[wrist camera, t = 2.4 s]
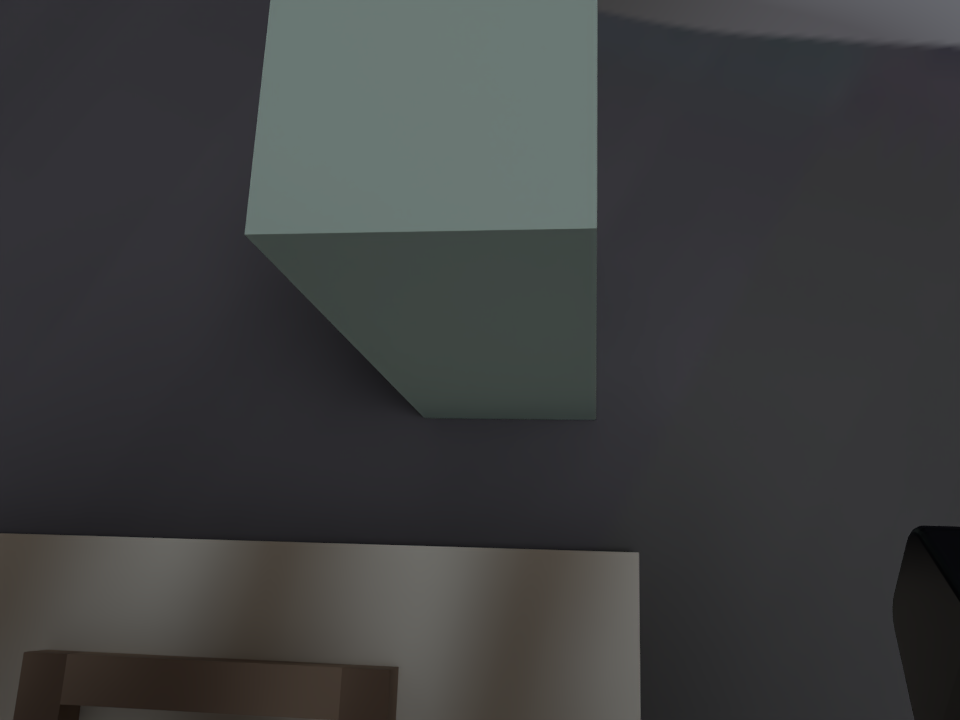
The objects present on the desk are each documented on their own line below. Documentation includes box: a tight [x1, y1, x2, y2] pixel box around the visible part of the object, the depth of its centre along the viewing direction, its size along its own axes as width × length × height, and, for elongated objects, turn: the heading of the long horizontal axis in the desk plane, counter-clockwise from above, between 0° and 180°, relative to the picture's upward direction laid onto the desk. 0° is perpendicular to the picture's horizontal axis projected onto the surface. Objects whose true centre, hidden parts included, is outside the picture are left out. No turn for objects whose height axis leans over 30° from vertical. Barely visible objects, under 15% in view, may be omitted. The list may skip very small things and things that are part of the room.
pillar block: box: [245, 0, 597, 420], centre depth 16 cm, size 4×4×11 cm
